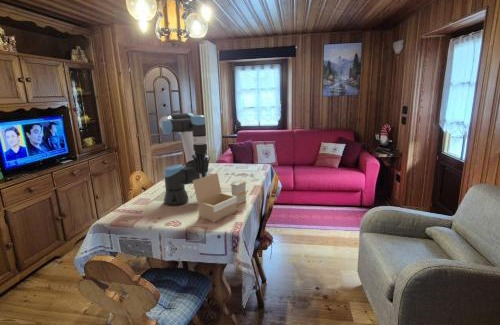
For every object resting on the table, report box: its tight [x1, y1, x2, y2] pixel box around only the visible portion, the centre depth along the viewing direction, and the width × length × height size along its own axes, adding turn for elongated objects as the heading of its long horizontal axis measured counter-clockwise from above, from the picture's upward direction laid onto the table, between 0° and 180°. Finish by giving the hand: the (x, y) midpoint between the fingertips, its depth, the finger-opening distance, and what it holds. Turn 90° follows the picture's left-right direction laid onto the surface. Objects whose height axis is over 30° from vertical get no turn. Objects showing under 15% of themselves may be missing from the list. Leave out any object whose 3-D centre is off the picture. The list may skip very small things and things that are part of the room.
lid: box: [192, 172, 222, 203], centre depth 161 cm, size 12×18×1 cm
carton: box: [197, 192, 238, 223], centre depth 158 cm, size 12×18×9 cm
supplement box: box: [230, 180, 247, 206], centre depth 174 cm, size 8×5×13 cm, turn 141°
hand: (202, 183), depth 163 cm, fingers closed
